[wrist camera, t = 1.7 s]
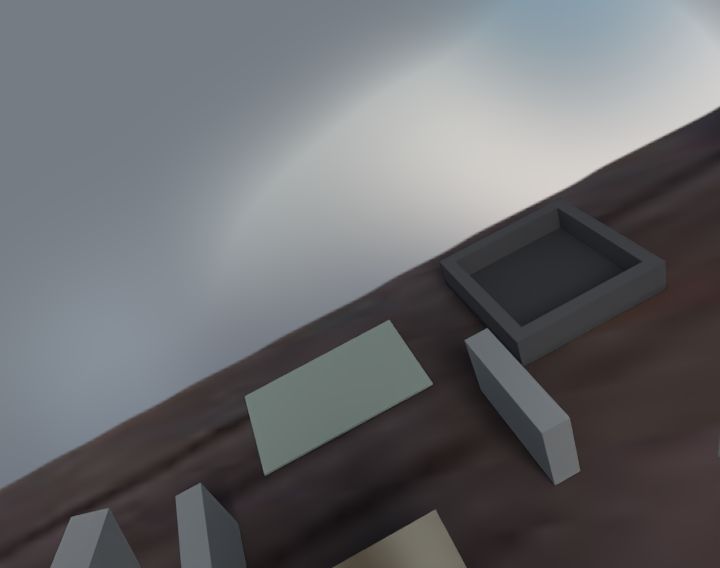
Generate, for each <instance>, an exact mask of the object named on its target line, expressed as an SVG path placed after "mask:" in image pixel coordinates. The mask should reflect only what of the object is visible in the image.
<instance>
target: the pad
mask: <svg viewBox="0 0 720 568" xmlns="http://www.w3.org/2000/svg"><path fill="white" fill-rule="evenodd" d="M432 385H433V383H432V382H431V380H430V379H429V377H428V376H427V374H426V373H425V371H424V370H423V368H422V367H421V365H420V364H419V363H418V361H417V360H416V358H415V357H414V355H413V354H412V352H411V351H410V349H409V348H408V346H407V345H406V343H405V342H404V341H403V339H402V338H401V336H400V335H399V333H398V332H397V330H396V329H395V327H394V326H393V324H392V323H391V321H390V320H388V321H386V322H384V323H382V324H380V325H378V326H377V327H375V328H373V329H371V330H369V331H367V332H365V333H363V334H361V335H360V336H358V337H356V338H354V339H352V340H350V341H348V342H346V343H344V344H343V345H341V346H339V347H337V348H335V349H333V350H331V351H329V352H327V353H326V354H324V355H322V356H320V357H318V358H316V359H314V360H312V361H310V362H309V363H307V364H305V365H303V366H301V367H299V368H297V369H295V370H294V371H292V372H290V373H288V374H286V375H284V376H282V377H280V378H278V379H277V380H275V381H273V382H271V383H269V384H267V385H265V386H263V387H261V388H260V389H258V390H256V391H254V392H252V393H250V394H248V395H246V396H245V400H246V404H247V408H248V412H249V416H250V420H251V424H252V428H253V432H254V435H255V439H256V443H257V447H258V451H259V455H260V459H261V463H262V467H263V471H264V475H265V476H266V475H268V474H270V473H272V472H273V471H275V470H277V469H279V468H281V467H283V466H284V465H286V464H288V463H290V462H292V461H294V460H295V459H297V458H299V457H301V456H303V455H305V454H307V453H308V452H310V451H312V450H314V449H316V448H318V447H319V446H321V445H323V444H325V443H327V442H329V441H330V440H332V439H334V438H336V437H338V436H340V435H341V434H343V433H345V432H347V431H349V430H351V429H353V428H354V427H356V426H358V425H360V424H362V423H364V422H365V421H367V420H369V419H371V418H373V417H375V416H376V415H378V414H380V413H382V412H384V411H386V410H387V409H389V408H391V407H393V406H395V405H397V404H399V403H400V402H402V401H404V400H406V399H408V398H410V397H411V396H413V395H415V394H417V393H419V392H421V391H422V390H424V389H426V388H428V387H430V386H432Z"/></svg>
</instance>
